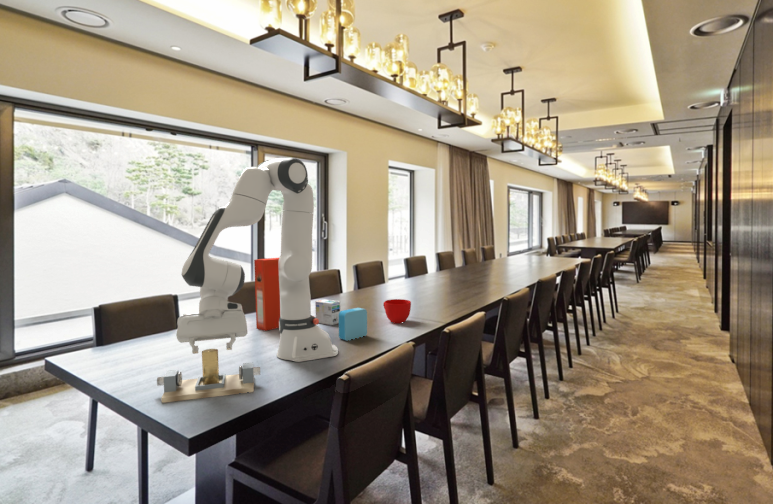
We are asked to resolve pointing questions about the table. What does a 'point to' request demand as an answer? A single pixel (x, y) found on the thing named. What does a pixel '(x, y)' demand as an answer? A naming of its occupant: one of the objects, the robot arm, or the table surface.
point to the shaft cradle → (195, 389)
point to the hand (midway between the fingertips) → (212, 350)
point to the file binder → (267, 293)
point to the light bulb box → (327, 311)
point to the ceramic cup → (397, 310)
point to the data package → (352, 323)
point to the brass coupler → (210, 366)
